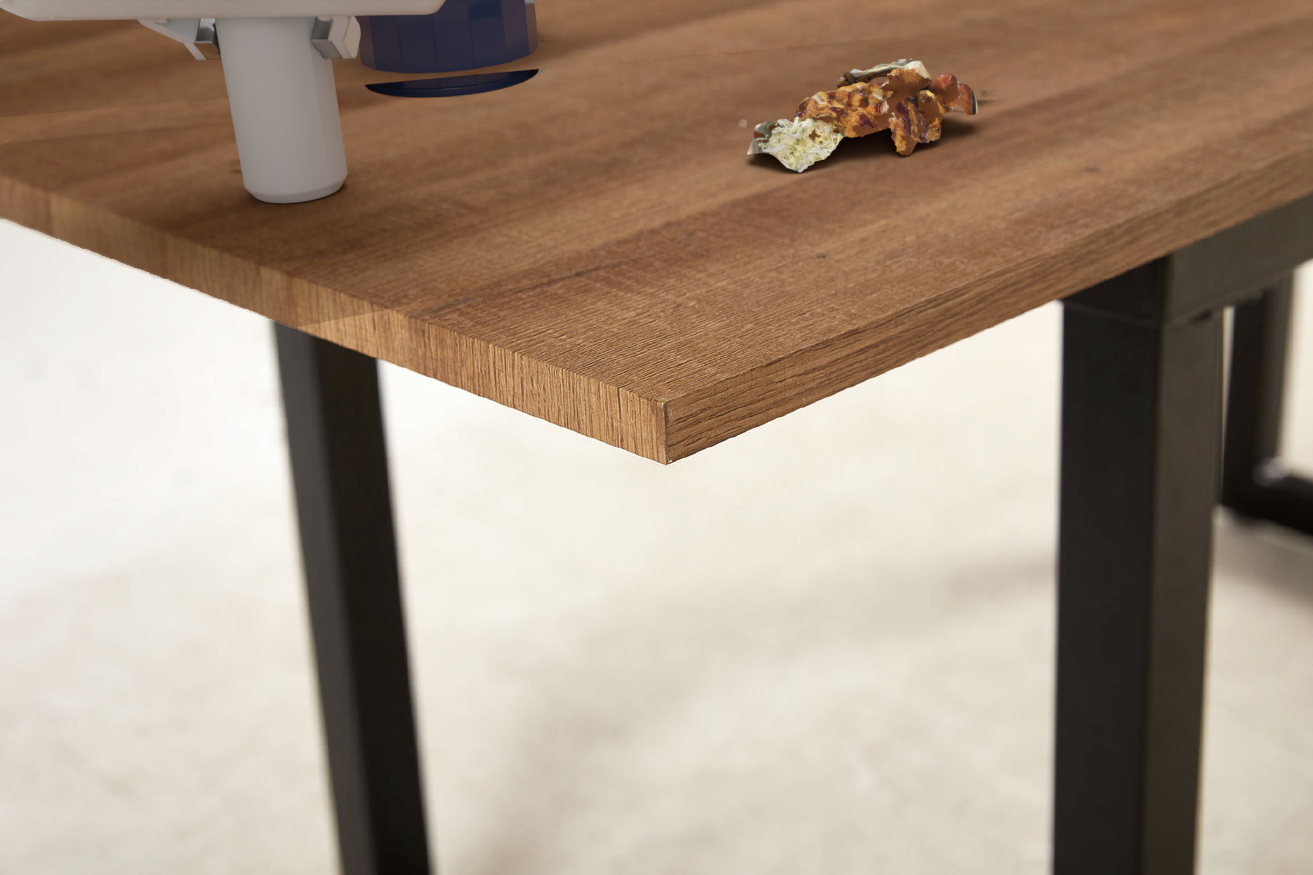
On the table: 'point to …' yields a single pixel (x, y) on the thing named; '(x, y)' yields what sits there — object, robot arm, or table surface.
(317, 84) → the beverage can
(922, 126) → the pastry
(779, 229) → the table surface
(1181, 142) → the table surface
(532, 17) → the pot
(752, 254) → the table surface
